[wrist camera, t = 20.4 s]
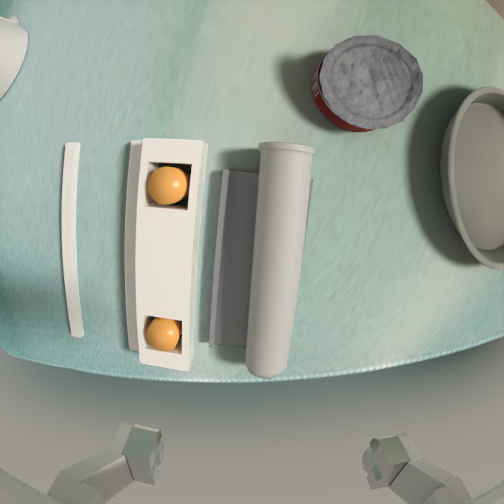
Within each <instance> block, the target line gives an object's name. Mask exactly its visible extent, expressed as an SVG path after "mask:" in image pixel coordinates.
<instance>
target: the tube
mask: <svg viewBox="0 0 504 504" xmlns="http://www.w3.org/2000/svg"><path fill="white" fill-rule="evenodd" d="M259 151H260V169H259V182H258V196H257V209H256V223H255V236H254V250H253V263H252V277H251V290H250V303H249V317H248V330H247V343H246V359H245V365H246V367H247V369H248V371H249V372H250V373H251V374H253V375H255V376H257V377H260V378H265V379H269V380H271V379H272V378H274V377H275V376H277V375H278V374H280V373H281V372H282V371H284V370H285V369H286V368H287V363H288V357H289V350H290V344H291V337H292V331H293V324H294V317H295V310H296V303H297V295H298V288H299V280H300V272H301V264H302V256H303V247H304V238H305V228H306V219H307V209H308V198H309V187H310V175H311V162H312V155H313V154H315V148H314V147H309V146H305V145H300V144H293V143H283V142H264V143H259Z"/></svg>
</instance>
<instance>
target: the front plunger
mask: <svg viewBox="0 0 504 504" xmlns="http://www.w3.org/2000/svg"><path fill="white" fill-rule="evenodd" d="M189 188H190V176H189V174H188V173H187V172H186V171H185V170H183V169H180V168H175V167H161V168H159V169H157V170H155V171H154V172H153V173H152V175H151V176H150V178H149V181H148V191H149V194H150V196H151V197H152V199H153V200H154V201H156V202H157V203H159V204H163V205H168V204H172V203H175V202H178V201H181V200H183V199H185V198H186V197H187V196H188V194H189Z"/></svg>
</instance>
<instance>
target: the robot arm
mask: <svg viewBox="0 0 504 504" xmlns="http://www.w3.org/2000/svg"><path fill="white" fill-rule="evenodd" d="M27 45H28V35H27V32H26V30H25V29H24V28H23V27H21V26H20V25H19V20H18V18H17V17H14V16H13V17H11V18H9V19H5V18H2V17H0V99H1V98H2V97H3V96H4V94H5V93H6V92H7V90H8V89H9V88H10V86H11V85H12V83H13V81H14V80H15V78H16V76H17V74H18V72H19V70H20V68H21V65H22V63H23V60H24V57H25V54H26V50H27ZM161 437H162V434H161V430H157V429H153V428H149V427H145V426H141V425H137V424H133V423H129V422H126V421H122V422H121V423H120V424H119V426H118V429H117V431H116V433H115V435H114V437H113V439H112V441H111V443H110V445H109V448H108V450H106V449H103V450H101V451H99V452H97V453H95V454H93V455H92V456H90V457H88V458H86V459H84V460H82V461H80V462H78V463H76V464H74V465H72V466H70V467H68V468H66V469H64V470H61V471H59V473H58V475H57V477H56V479H55V480H54V482H53V484H52V486H51V488H50V490H49V492H48V493H47V495H46V494H44V493H42V492H40V491H39V490H37V489H35V488H33V487H31V486H29V485H28V484H26V483H24V482H23V481H21V480H19V479H17V478H16V477H14V476H12V475H11V474H9V473H8V472H6V471H5V470H3V469H2V468H0V504H105V502H106V501H108V500H109V499H111V498H112V497H113V496H115V495H116V494H117V493H119V492H120V491H121V490H123V489H124V488H125V487H127V486H128V485H129V484H131V483H132V482H133V480H135V481H140V482H144V483H149V484H153V485H155V483H156V479H157V476H158V467H157V466H158V465H159V464H161V461H162V457H163V442H162V441H161ZM362 464H363V468H364V470H365V471H366V472H367V473H369V474H368V476H367V480H368V483H369V486H370V489H376V488H382V487H387V486H389V488H390V489H391V490H392V491H393V492H394V493H396V494H397V495H398V496H399V497H400V498H402V499H403V500H404V501H405V502H406V503H407V504H504V481H502V482H501V483H499V484H497V485H496V486H494V487H492V488H490V489H488V490H487V491H485V492H483V493H481V494H479V495H477V496H475V497H473V498H471V497H470V495H469V493H468V491H467V489H466V488H465V486H464V484H463V482H462V481H461V479H459V478H457V477H455V476H454V475H452V474H450V473H448V472H447V471H444V470H443V469H441V468H439V467H438V466H436V465H434V464H433V463H431V462H429V461H427V460H426V459H424V458H423V459H421V458H420V456H419V455H418V453H417V451H416V449H415V447H414V445H413V443H412V441H411V440H410V438H409V436H408V434H406V433H404V434H398V435H391V436H384V437H378V438H374V439H372V440H371V442H370V448H368V449H367V450H366V451H365V453H364V454H363V459H362Z"/></svg>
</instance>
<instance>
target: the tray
mask: <svg viewBox="0 0 504 504" xmlns="http://www.w3.org/2000/svg"><path fill="white" fill-rule="evenodd" d="M258 182H259V173H254V172H245V171H235V170H227V169H223V176H222V186H221V195H220V205H219V216H218V226H217V237H216V249H215V261H214V273H213V287H212V301H211V316H210V332H209V347H210V348H214V344H222V345H231V346H241V347H246V343H247V330H248V317H249V303H250V290H251V277H252V263H253V250H254V236H255V223H256V209H257V196H258ZM312 184H313V180H310V187H309V198H308V209H307V219H306V228H305V236H306V229H307V222H308V214H309V207H310V200H311V192H312ZM304 242H305V238H304ZM303 249H304V247H303Z"/></svg>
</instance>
